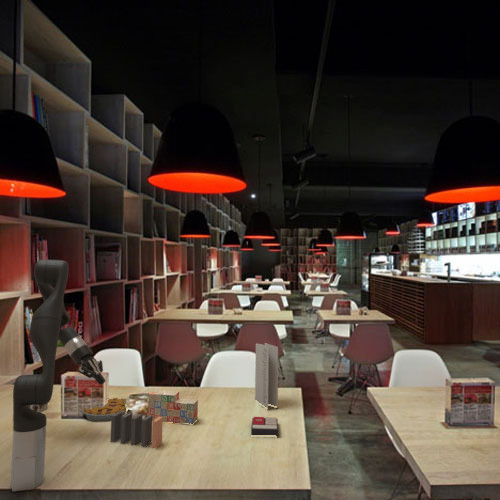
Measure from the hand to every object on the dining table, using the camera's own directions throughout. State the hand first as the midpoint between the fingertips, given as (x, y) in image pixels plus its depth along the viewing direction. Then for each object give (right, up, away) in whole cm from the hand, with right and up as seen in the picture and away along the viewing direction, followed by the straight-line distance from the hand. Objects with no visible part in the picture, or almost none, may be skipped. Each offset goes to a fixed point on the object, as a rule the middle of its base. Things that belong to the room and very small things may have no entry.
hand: (103, 383), depth 162 cm
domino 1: (+6, -21, -3) cm, 22 cm away
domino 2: (+11, -21, -4) cm, 24 cm away
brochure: (+67, -25, +40) cm, 82 cm away
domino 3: (+15, -21, -6) cm, 27 cm away
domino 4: (+19, -21, -7) cm, 30 cm away
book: (+65, -23, +8) cm, 70 cm away
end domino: (+24, -21, -8) cm, 33 cm away
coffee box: (-42, -23, +28) cm, 55 cm away
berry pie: (-7, -23, +26) cm, 36 cm away
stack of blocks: (+25, -23, +18) cm, 38 cm away
